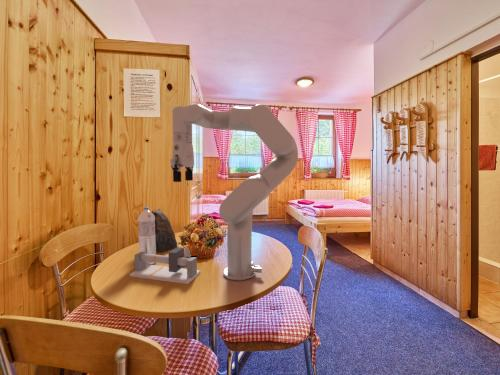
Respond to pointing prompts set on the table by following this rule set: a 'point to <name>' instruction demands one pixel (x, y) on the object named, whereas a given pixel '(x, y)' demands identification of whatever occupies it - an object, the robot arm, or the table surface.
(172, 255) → the collar
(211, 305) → the table surface
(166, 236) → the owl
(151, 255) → the slider rail stand
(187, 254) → the skincare box
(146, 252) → the water bottle
